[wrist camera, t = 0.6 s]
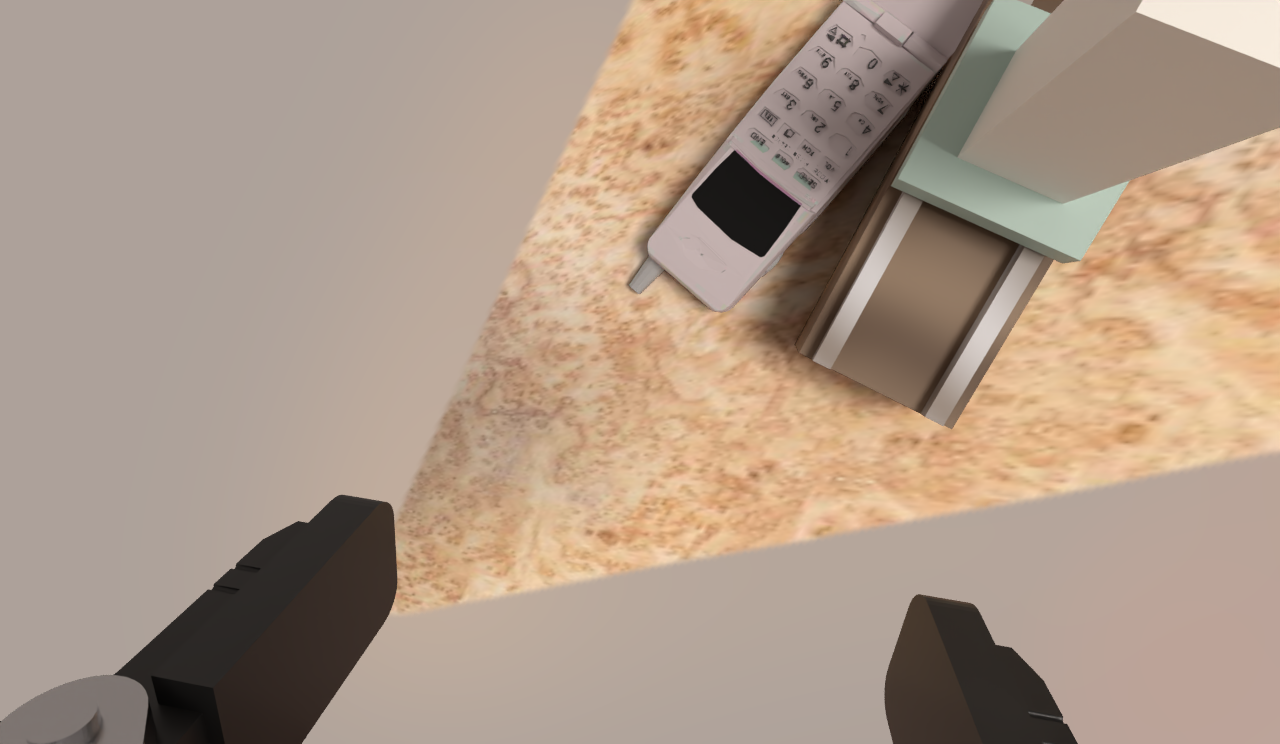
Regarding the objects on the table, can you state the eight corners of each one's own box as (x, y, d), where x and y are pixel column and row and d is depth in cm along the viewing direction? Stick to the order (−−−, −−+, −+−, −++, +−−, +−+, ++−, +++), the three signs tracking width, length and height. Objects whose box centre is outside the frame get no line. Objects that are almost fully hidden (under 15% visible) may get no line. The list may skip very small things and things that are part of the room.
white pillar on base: (984, 11, 24) (1233, -337, 11) (1169, 85, 23) (1680, -199, 10) (890, 185, 26) (1013, 58, 12) (1062, 263, 25) (1393, 214, 11)
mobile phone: (1129, -146, 24) (690, 356, 29) (1061, -57, 30) (704, 349, 35) (999, -238, 25) (592, 269, 30) (958, -133, 30) (622, 277, 36)
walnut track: (965, 25, 31) (1018, -52, 24) (1109, 84, 30) (1205, 21, 23) (795, 344, 34) (799, 354, 27) (920, 407, 33) (957, 432, 26)
